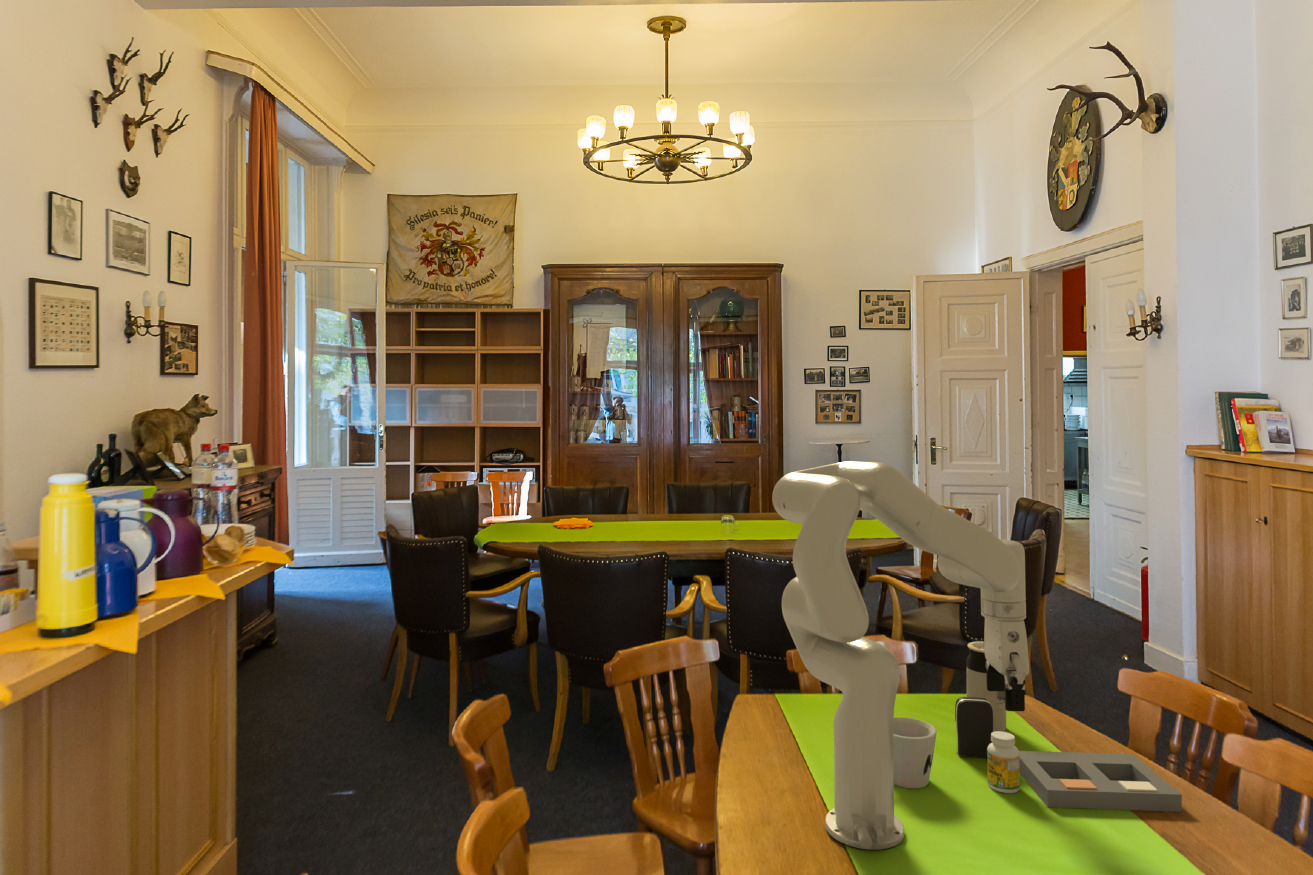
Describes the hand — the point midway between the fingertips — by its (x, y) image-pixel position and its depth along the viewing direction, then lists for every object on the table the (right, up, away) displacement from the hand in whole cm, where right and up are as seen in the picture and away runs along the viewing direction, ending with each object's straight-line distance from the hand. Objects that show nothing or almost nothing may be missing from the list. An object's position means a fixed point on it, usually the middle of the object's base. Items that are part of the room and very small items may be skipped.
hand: (1005, 700), depth 140 cm
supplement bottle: (0, -16, 0) cm, 16 cm away
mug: (-19, -16, +4) cm, 25 cm away
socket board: (+16, -16, -1) cm, 22 cm away
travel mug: (+8, -16, +27) cm, 33 cm away
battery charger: (0, -16, +14) cm, 21 cm away
